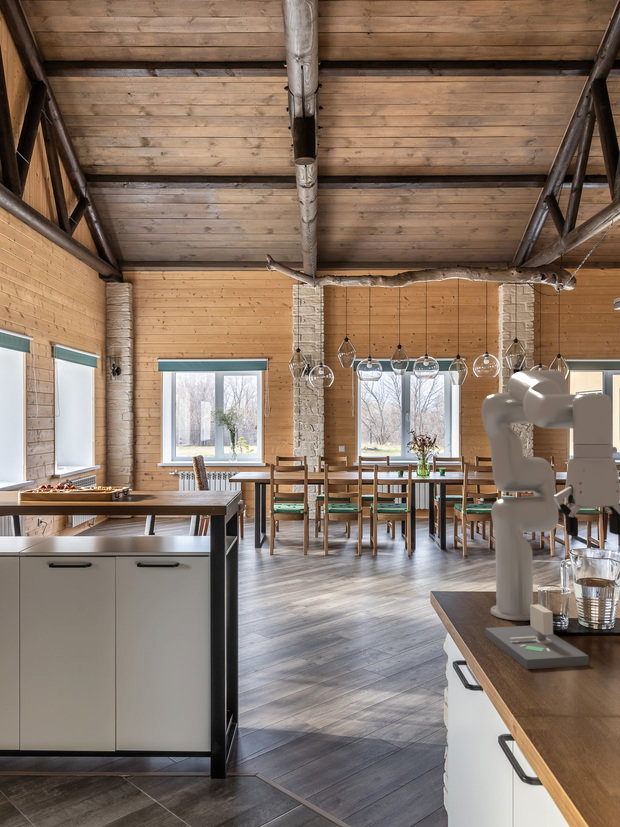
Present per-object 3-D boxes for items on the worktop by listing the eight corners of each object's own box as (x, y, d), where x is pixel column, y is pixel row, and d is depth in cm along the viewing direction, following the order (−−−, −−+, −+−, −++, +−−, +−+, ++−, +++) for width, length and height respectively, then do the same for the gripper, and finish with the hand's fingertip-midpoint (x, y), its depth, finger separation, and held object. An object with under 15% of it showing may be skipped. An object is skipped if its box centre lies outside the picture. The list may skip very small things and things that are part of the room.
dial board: (485, 636, 163) (485, 627, 163) (539, 633, 165) (539, 624, 165) (526, 669, 141) (526, 659, 141) (588, 665, 143) (588, 655, 143)
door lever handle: (504, 635, 155) (504, 606, 155) (539, 633, 156) (539, 604, 156) (516, 645, 149) (516, 613, 149) (553, 642, 150) (552, 612, 150)
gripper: (619, 451, 145) (621, 530, 145) (544, 452, 142) (546, 533, 142) (641, 452, 137) (643, 536, 137) (563, 454, 135) (564, 539, 135)
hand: (593, 534), depth 140 cm, fingers open, 9 cm apart
